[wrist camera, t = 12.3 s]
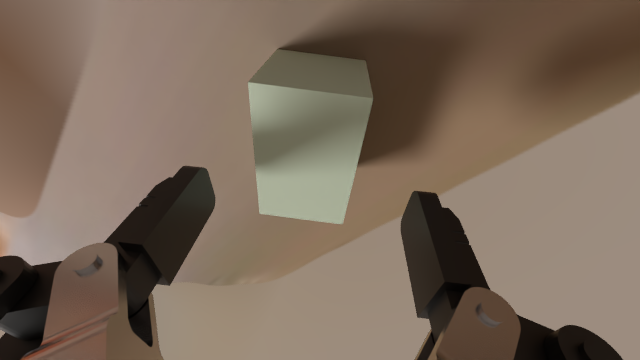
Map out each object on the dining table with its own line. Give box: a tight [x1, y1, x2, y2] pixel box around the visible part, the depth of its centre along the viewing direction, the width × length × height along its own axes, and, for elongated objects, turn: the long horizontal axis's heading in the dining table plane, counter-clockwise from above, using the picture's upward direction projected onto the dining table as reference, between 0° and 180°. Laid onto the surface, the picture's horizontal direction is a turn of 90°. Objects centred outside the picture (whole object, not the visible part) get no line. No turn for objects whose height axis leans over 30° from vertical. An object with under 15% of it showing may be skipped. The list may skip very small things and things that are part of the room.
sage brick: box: [248, 49, 374, 224], centre depth 13 cm, size 4×7×5 cm, turn 175°
